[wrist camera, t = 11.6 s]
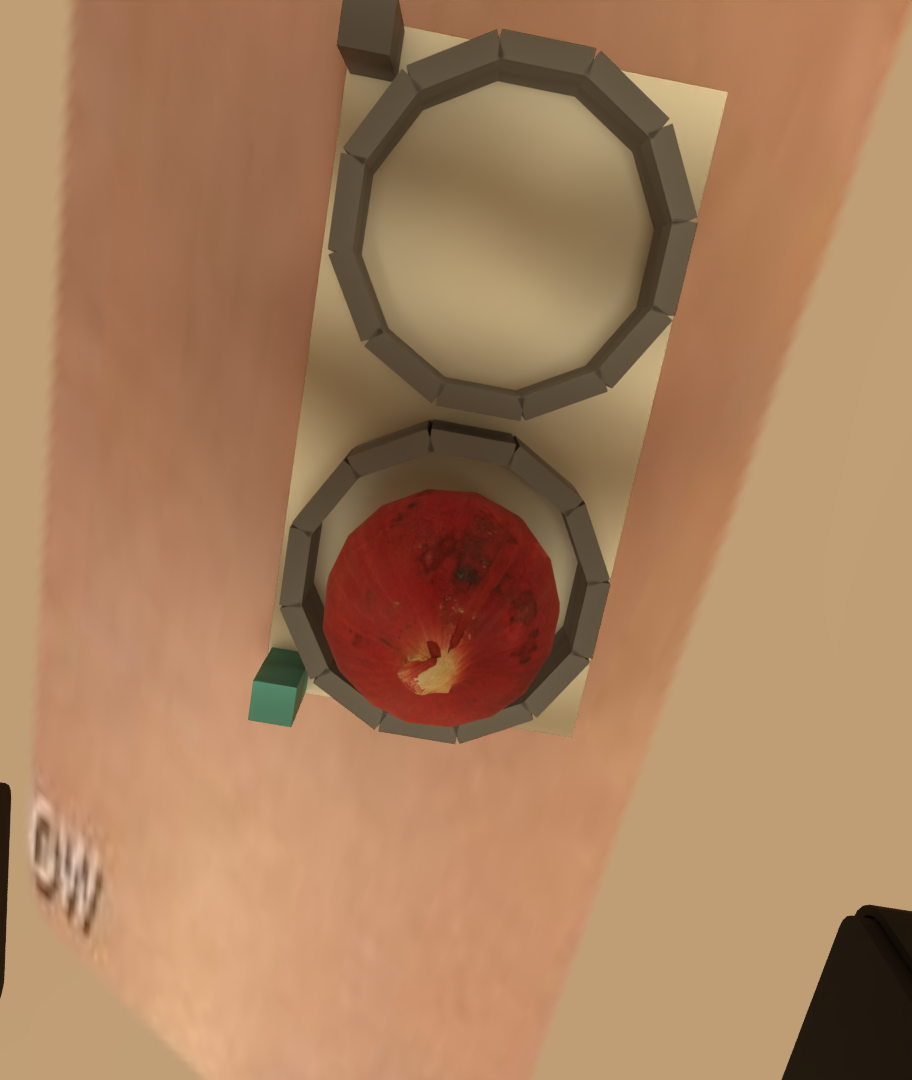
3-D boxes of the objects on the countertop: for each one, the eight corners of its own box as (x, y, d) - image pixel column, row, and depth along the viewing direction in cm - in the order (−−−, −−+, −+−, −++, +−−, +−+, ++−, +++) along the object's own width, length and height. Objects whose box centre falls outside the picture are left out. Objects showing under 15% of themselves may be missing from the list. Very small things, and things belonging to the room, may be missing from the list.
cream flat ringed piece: (360, 35, 23) (340, -21, 19) (710, 106, 23) (760, 65, 19) (273, 666, 27) (244, 722, 24) (566, 715, 28) (583, 778, 24)
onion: (403, 431, 24) (374, 480, 16) (581, 526, 24) (635, 618, 17) (313, 604, 25) (245, 727, 17) (483, 691, 26) (492, 847, 18)
